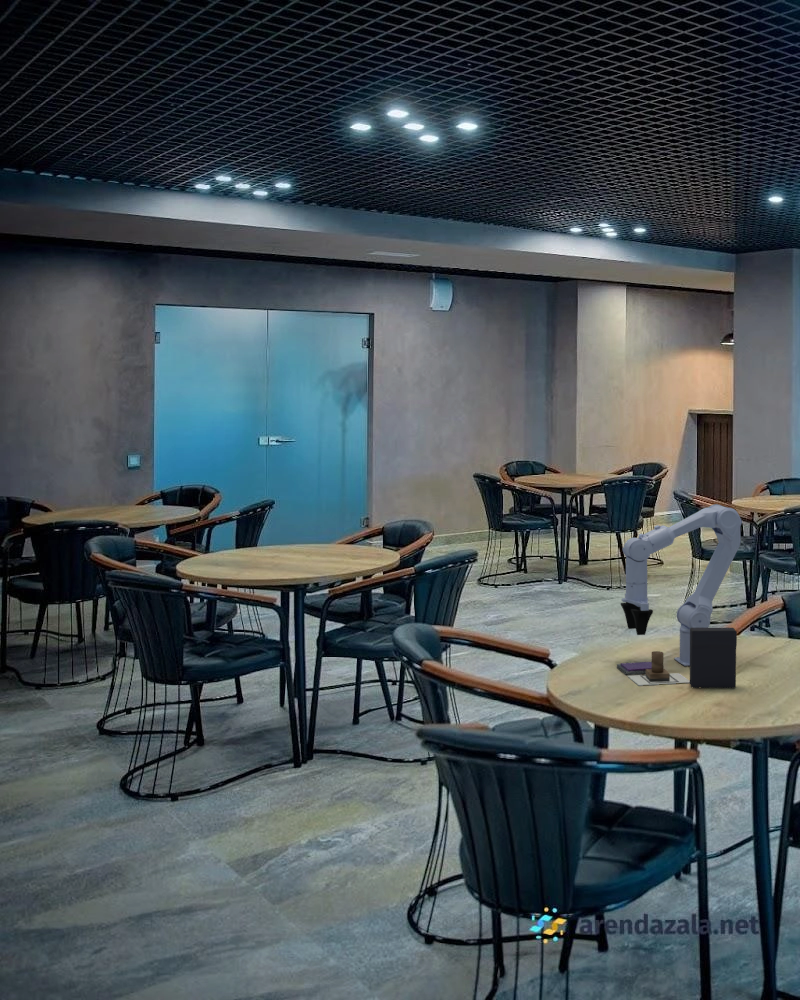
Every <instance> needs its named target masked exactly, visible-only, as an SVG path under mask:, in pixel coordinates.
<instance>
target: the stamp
mask: <svg viewBox="0 0 800 1000" xmlns="http://www.w3.org/2000/svg"><path fill="white" fill-rule="evenodd" d="M651 662H652V669H646V674H645V675H646V678H647V679H648V680H649V681H650V682H663V681H670V674H671V673H670V672H668V671H667V670H666V669H665V668H664V652H663V651H658V650H657V651H651Z"/></svg>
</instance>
